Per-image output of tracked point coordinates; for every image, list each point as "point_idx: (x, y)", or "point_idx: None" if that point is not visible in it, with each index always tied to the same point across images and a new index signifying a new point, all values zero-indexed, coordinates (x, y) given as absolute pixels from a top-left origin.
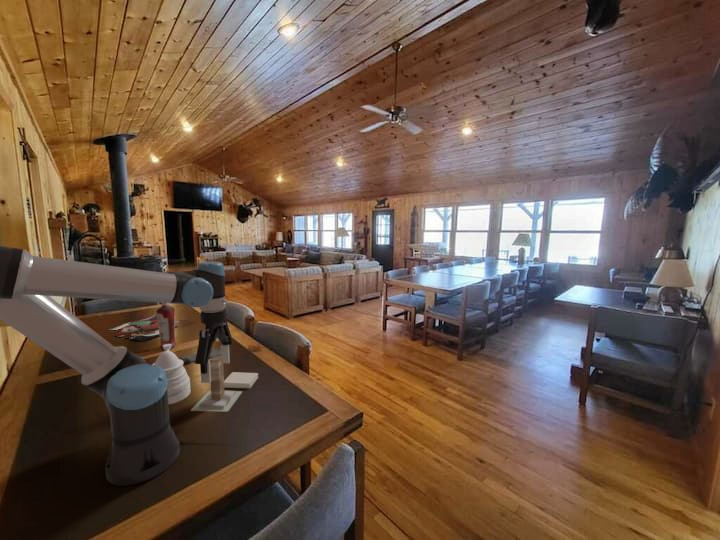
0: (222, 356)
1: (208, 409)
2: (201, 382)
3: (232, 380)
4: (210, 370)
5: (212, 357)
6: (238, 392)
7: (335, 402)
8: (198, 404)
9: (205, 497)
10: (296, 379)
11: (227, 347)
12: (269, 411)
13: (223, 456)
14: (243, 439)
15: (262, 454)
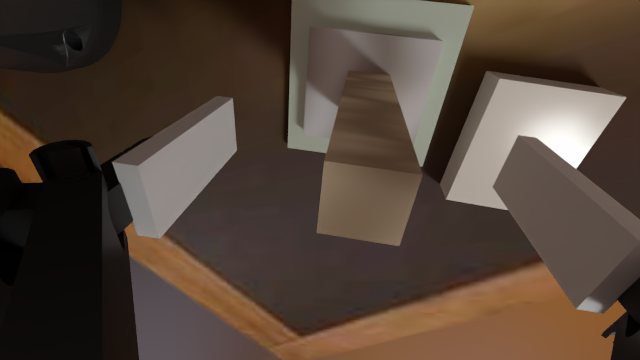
0: (398, 244)
1: (300, 72)
2: (217, 97)
3: (505, 122)
4: (202, 189)
5: (386, 172)
6: (416, 153)
7: (330, 349)
8: (341, 6)
9: (29, 173)
10: (471, 300)
11: (567, 286)
12: (298, 246)
13: None
14: None
15: (153, 244)
